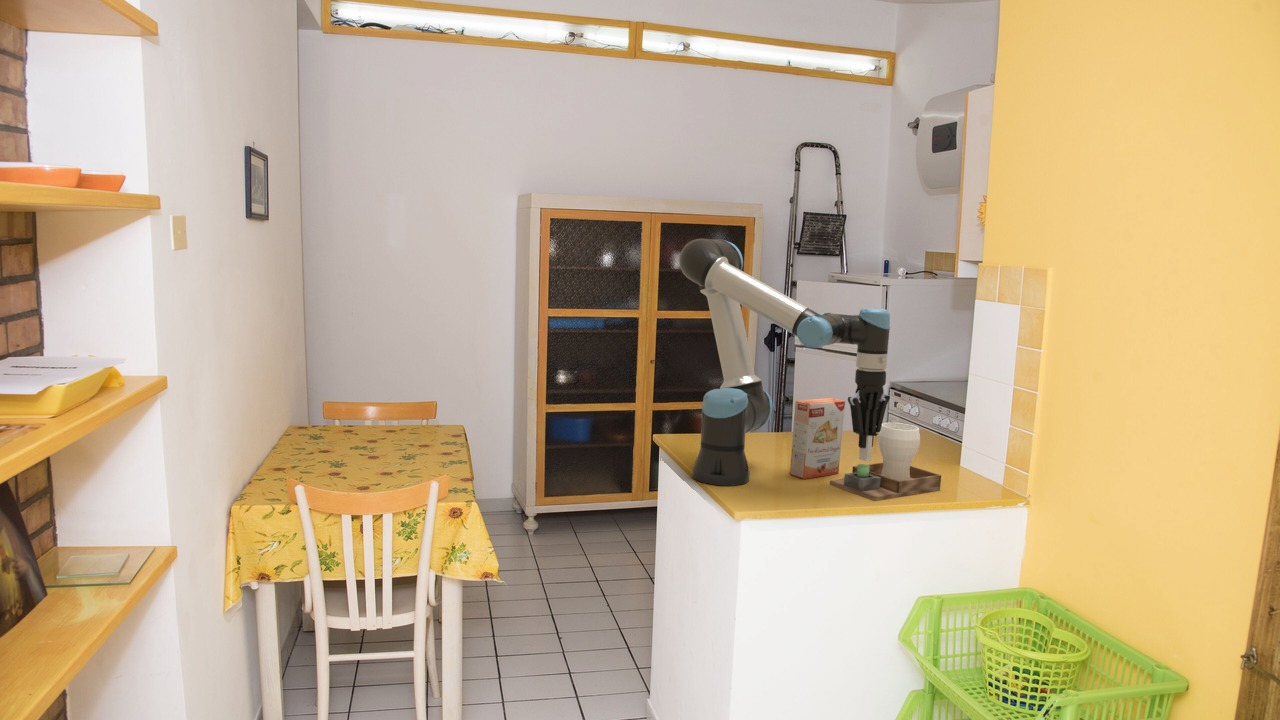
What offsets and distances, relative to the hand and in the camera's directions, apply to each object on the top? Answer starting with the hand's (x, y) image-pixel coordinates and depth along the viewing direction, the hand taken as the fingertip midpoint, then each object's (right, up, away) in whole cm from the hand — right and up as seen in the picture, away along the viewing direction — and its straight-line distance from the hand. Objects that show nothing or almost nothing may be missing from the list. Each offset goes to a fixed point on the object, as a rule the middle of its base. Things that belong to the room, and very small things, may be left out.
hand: (864, 459), depth 218 cm
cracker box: (-10, -6, +15) cm, 19 cm away
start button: (0, -5, +1) cm, 5 cm away
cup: (+10, -7, +8) cm, 14 cm away
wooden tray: (+7, -8, +6) cm, 12 cm away
